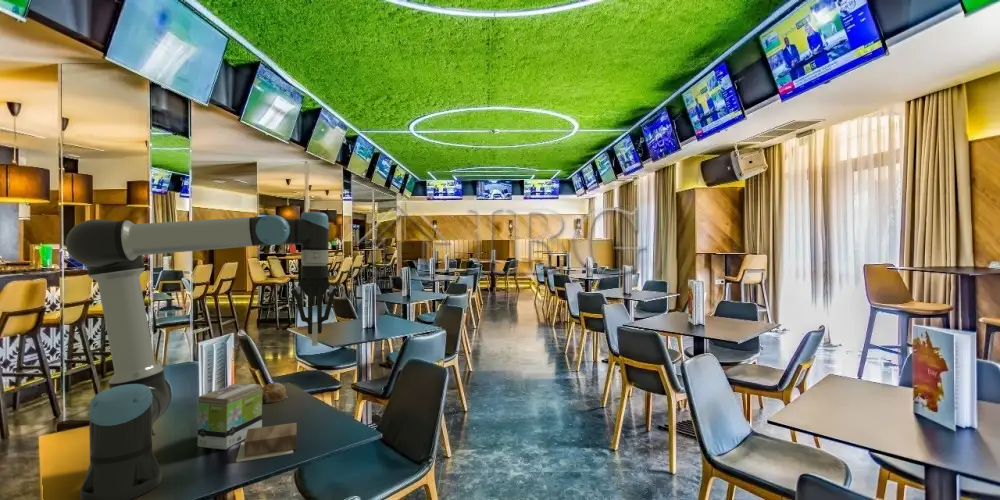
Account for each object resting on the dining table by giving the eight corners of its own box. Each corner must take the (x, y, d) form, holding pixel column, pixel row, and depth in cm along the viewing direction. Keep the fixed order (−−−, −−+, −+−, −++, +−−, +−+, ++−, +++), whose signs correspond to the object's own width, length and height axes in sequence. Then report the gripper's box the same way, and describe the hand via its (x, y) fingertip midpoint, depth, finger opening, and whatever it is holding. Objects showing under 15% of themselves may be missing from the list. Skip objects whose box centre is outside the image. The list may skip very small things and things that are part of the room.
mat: (235, 462, 128) (235, 460, 128) (241, 443, 140) (241, 442, 140) (293, 453, 134) (293, 452, 134) (293, 436, 146) (293, 434, 146)
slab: (296, 449, 135) (244, 457, 130) (296, 436, 144) (248, 443, 139) (296, 434, 135) (244, 442, 130) (296, 422, 144) (247, 429, 139)
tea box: (227, 450, 136) (226, 398, 135) (196, 447, 138) (196, 396, 137) (263, 430, 150) (263, 383, 150) (235, 428, 152) (235, 381, 152)
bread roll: (283, 411, 178) (293, 390, 180) (255, 403, 173) (266, 382, 175) (280, 403, 187) (289, 383, 188) (253, 396, 182) (263, 376, 183)
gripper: (290, 265, 135) (290, 349, 136) (339, 265, 140) (338, 345, 141) (291, 264, 142) (290, 344, 142) (337, 264, 147) (337, 340, 147)
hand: (314, 344), depth 142 cm, fingers closed
